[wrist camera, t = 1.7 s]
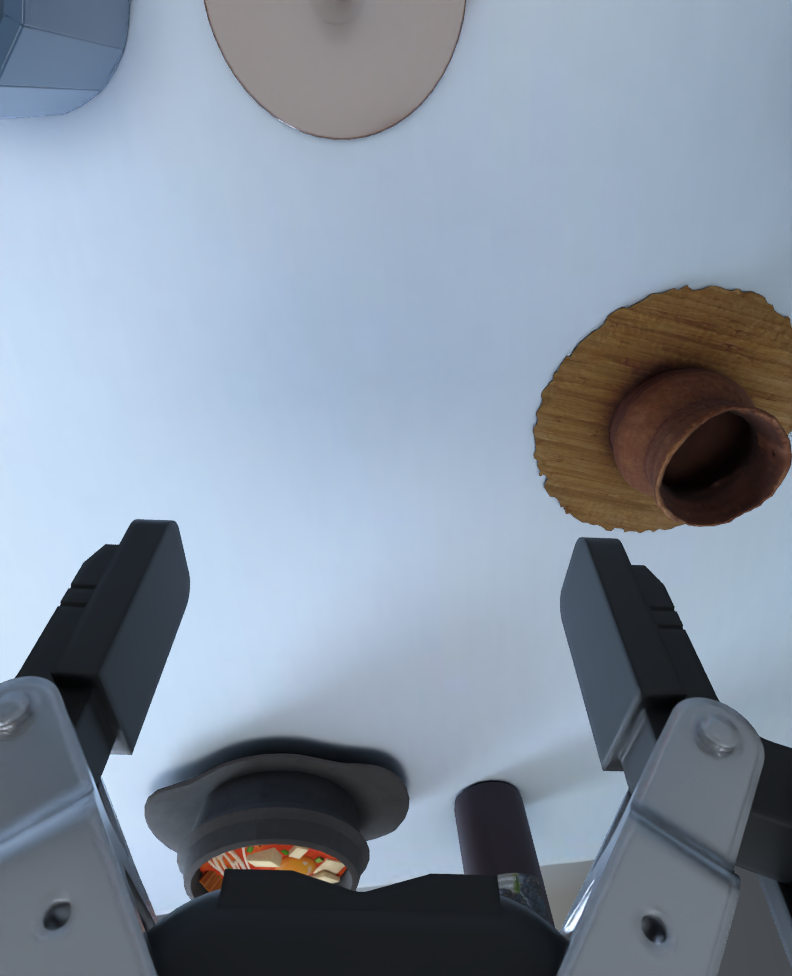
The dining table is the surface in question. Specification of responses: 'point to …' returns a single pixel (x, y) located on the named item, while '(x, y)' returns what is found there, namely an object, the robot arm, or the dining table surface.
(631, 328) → the ceramic pot
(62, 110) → the blue faceted canister
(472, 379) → the dining table surface
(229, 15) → the paper towel holder
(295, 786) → the casserole
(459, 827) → the wine bottle
